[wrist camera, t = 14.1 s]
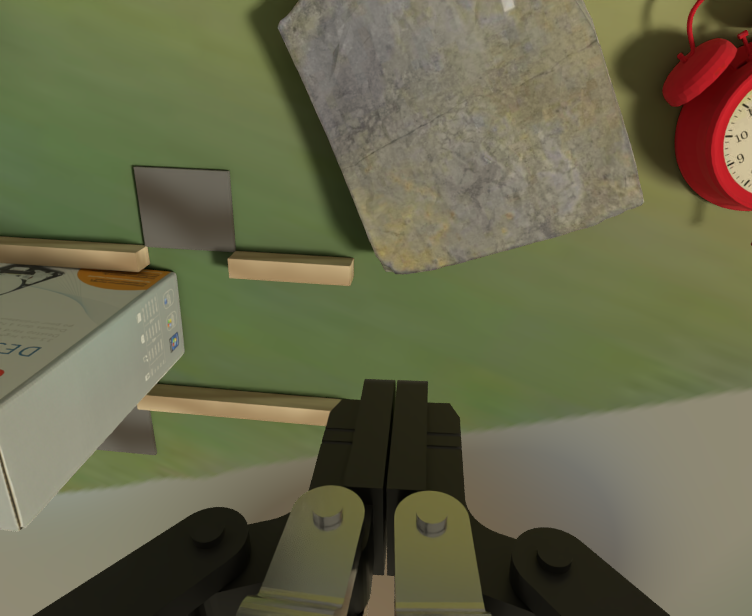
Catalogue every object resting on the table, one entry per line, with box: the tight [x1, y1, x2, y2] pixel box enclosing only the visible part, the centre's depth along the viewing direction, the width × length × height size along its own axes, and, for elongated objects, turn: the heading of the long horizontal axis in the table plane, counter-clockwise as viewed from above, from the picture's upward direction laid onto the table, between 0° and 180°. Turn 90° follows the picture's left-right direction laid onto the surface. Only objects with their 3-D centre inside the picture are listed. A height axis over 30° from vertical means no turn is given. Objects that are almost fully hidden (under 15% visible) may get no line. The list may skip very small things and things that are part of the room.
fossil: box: [278, 0, 644, 274], centre depth 36 cm, size 20×5×17 cm
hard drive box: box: [0, 263, 184, 531], centre depth 37 cm, size 16×8×20 cm, turn 87°
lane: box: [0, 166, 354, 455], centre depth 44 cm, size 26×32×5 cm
